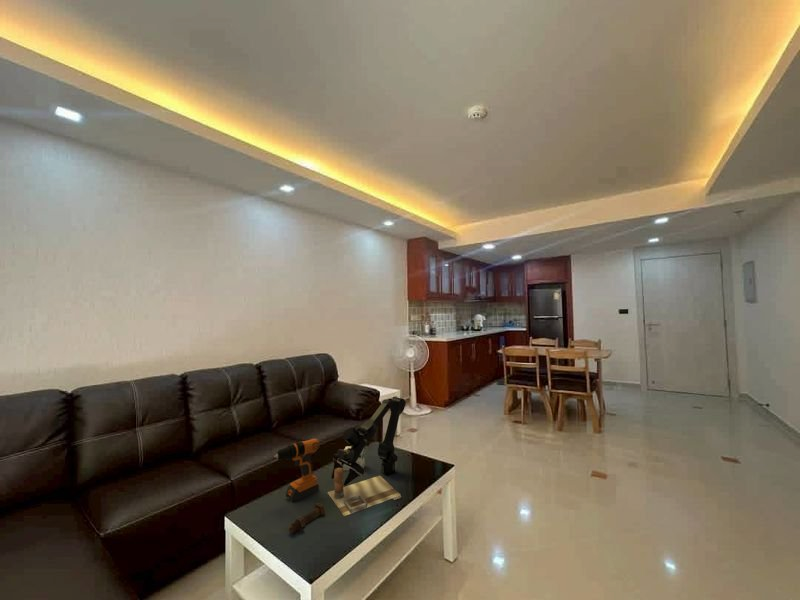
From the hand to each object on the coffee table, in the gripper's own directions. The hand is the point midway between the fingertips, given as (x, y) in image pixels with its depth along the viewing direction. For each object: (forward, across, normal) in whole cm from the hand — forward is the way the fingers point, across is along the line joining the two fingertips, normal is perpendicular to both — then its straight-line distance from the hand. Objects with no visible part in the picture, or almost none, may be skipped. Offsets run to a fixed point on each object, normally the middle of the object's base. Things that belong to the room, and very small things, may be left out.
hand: (337, 481), depth 151 cm
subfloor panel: (-1, +7, +12) cm, 14 cm away
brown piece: (+4, 0, +5) cm, 7 cm away
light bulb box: (-11, -17, +22) cm, 30 cm away
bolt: (+20, +4, -8) cm, 21 cm away
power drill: (+14, -16, -2) cm, 21 cm away
